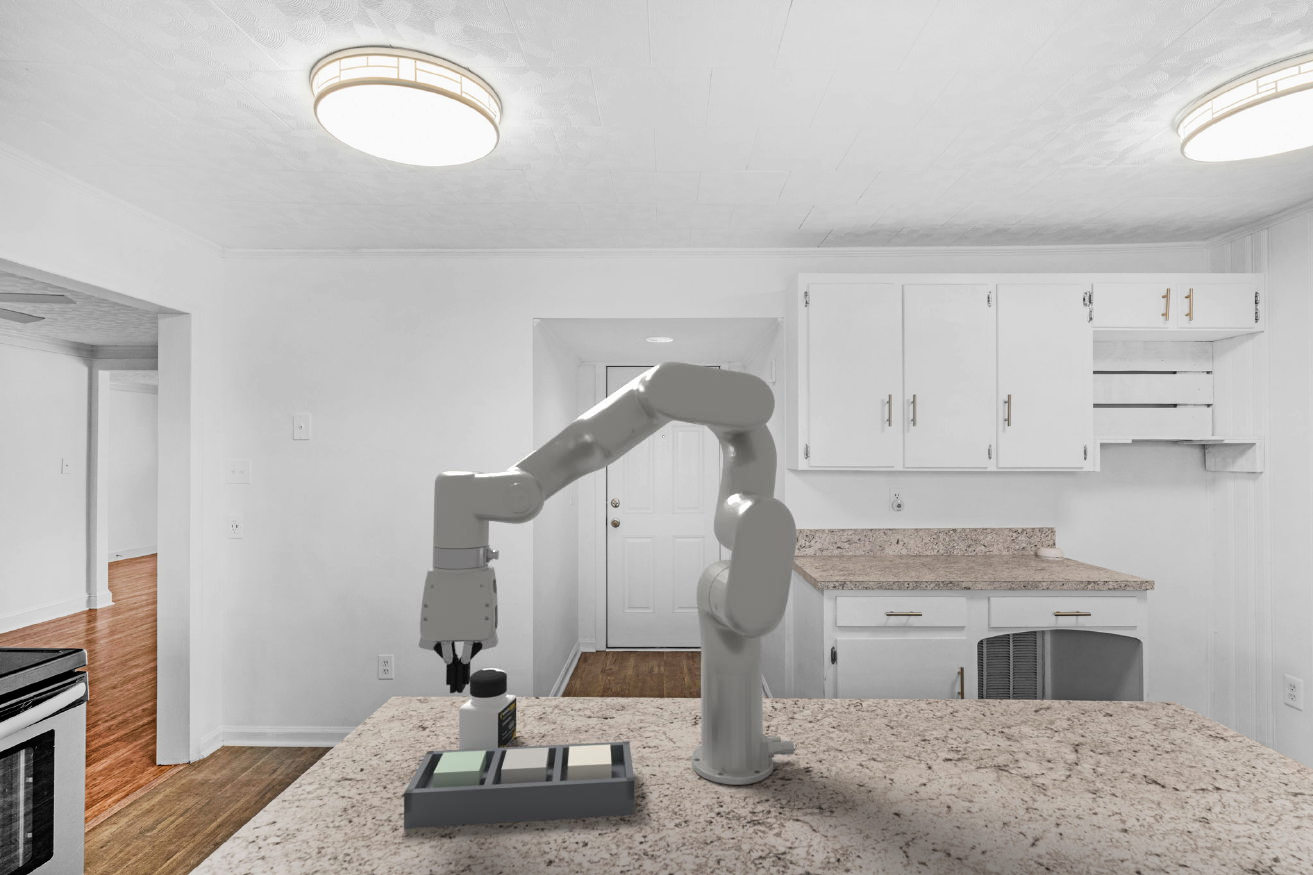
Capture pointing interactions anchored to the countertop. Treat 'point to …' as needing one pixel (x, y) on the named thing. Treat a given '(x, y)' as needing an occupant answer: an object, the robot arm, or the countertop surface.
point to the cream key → (589, 762)
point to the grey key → (525, 765)
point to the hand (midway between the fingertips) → (458, 689)
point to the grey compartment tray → (520, 792)
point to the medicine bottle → (487, 712)
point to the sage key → (459, 769)
